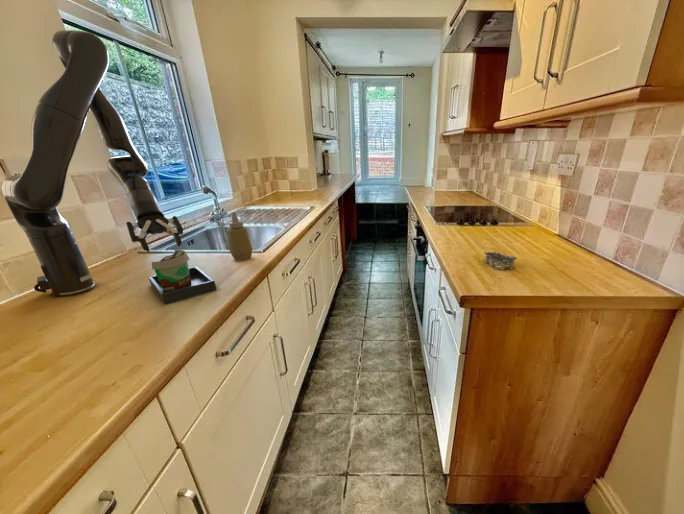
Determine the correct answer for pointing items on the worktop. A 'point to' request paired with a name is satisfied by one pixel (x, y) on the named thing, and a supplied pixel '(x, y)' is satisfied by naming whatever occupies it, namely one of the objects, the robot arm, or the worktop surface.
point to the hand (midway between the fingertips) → (164, 247)
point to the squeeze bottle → (239, 240)
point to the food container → (173, 271)
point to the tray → (198, 286)
